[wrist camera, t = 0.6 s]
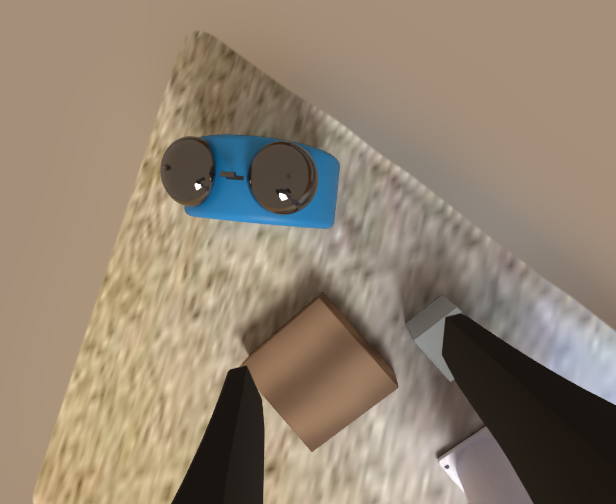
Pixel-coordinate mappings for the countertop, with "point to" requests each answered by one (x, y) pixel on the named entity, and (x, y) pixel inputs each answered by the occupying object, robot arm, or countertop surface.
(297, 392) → the walnut base
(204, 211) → the alarm clock
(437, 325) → the slate cube
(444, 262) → the countertop surface
